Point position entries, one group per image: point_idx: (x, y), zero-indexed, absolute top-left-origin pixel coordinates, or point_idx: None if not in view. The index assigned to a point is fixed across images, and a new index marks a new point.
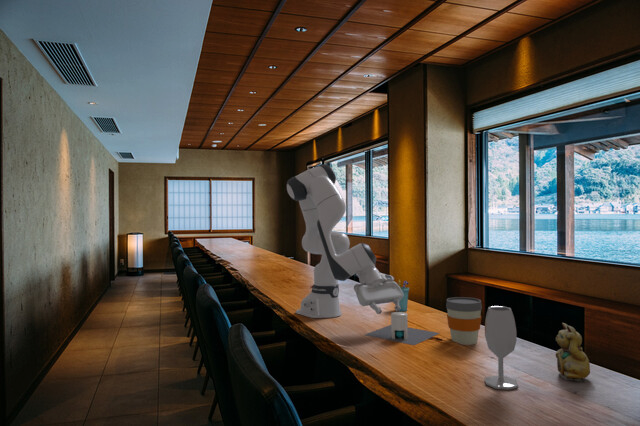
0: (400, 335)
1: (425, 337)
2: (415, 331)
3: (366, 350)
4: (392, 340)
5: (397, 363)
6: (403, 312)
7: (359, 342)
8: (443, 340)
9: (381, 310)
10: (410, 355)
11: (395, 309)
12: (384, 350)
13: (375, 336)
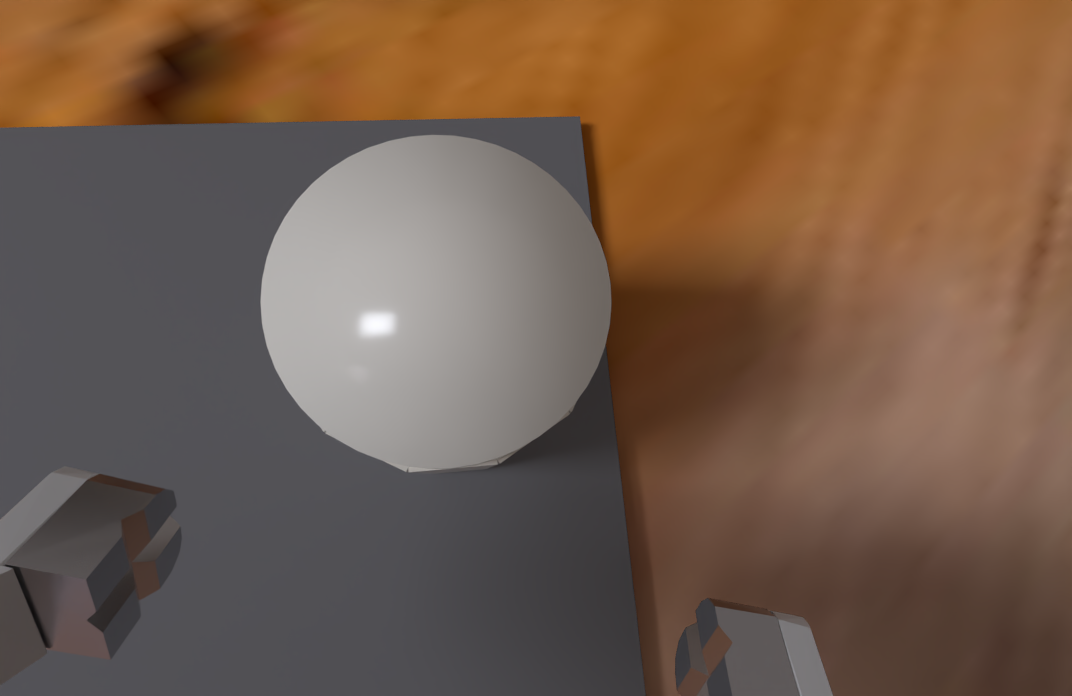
0: None
1: (251, 166)
2: (67, 393)
3: (985, 390)
4: (597, 371)
5: (1004, 15)
6: (272, 291)
7: (866, 638)
8: (192, 15)
9: (723, 609)
10: (796, 32)
11: (141, 597)
12: (861, 265)
13: (606, 633)
